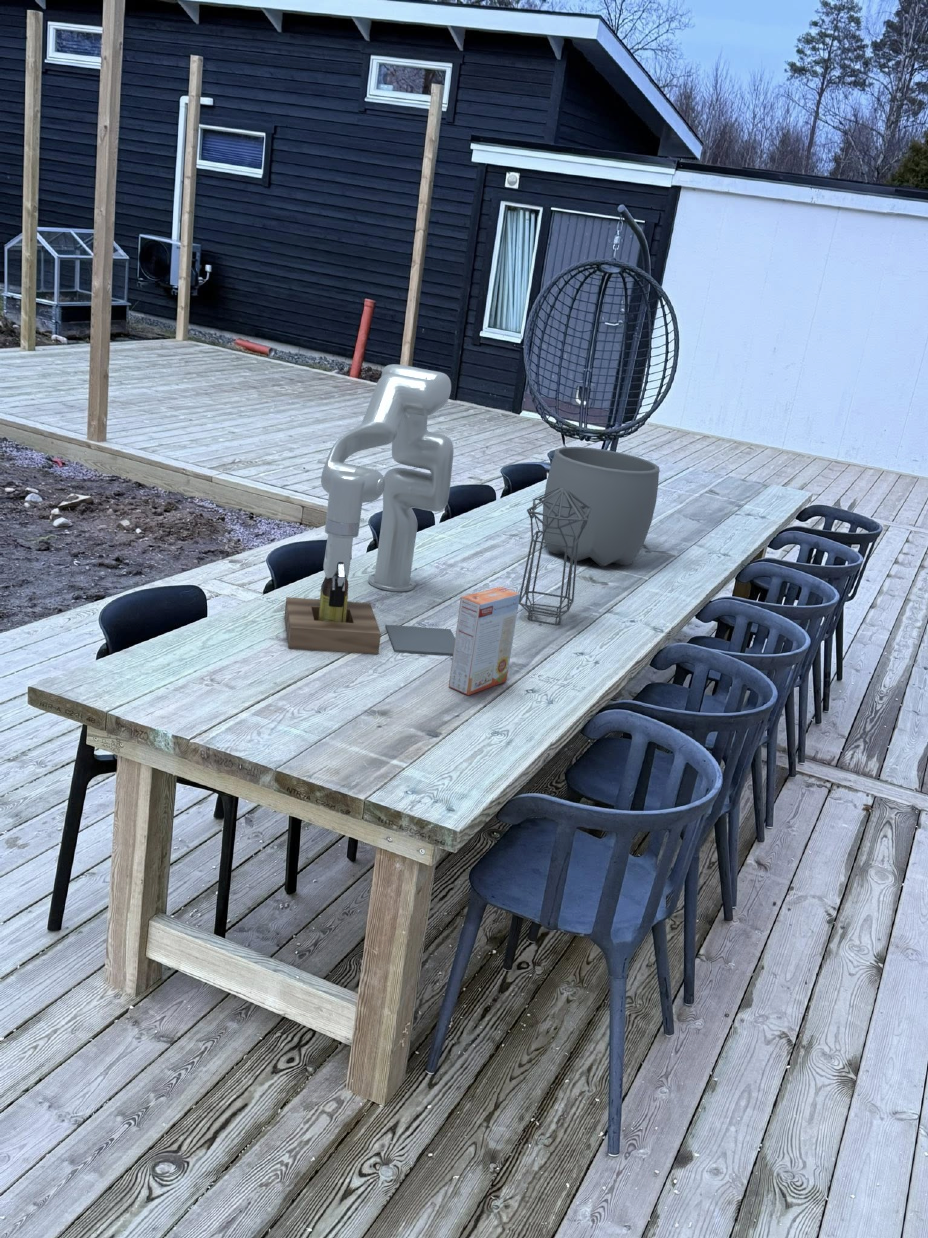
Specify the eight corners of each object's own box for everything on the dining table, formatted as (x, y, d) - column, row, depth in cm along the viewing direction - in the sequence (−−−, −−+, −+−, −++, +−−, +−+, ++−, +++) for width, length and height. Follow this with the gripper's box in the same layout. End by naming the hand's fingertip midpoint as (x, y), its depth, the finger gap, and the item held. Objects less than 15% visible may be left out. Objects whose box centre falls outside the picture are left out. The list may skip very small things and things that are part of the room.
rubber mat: (385, 626, 271) (385, 624, 270) (450, 631, 274) (450, 629, 274) (394, 652, 256) (394, 649, 256) (462, 656, 260) (463, 654, 259)
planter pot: (523, 555, 348) (540, 455, 338) (547, 533, 379) (563, 441, 369) (634, 580, 340) (655, 478, 330) (649, 556, 371) (669, 462, 360)
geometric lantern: (569, 633, 286) (590, 499, 274) (508, 622, 288) (527, 489, 277) (576, 614, 301) (596, 486, 289) (518, 604, 303) (536, 476, 291)
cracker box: (486, 673, 252) (500, 585, 245) (507, 682, 249) (522, 593, 242) (445, 686, 241) (459, 594, 234) (467, 696, 238) (482, 603, 231)
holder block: (284, 616, 267) (286, 597, 265) (367, 622, 271) (370, 603, 270) (288, 648, 248) (290, 627, 247) (378, 654, 253) (380, 633, 251)
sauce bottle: (330, 628, 264) (340, 547, 258) (349, 637, 261) (359, 555, 254) (310, 633, 259) (319, 550, 253) (329, 642, 256) (338, 558, 249)
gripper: (322, 515, 259) (314, 586, 264) (328, 536, 243) (320, 611, 248) (354, 518, 260) (346, 588, 266) (363, 539, 244) (354, 613, 250)
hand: (333, 599), depth 257 cm, fingers open, 9 cm apart
